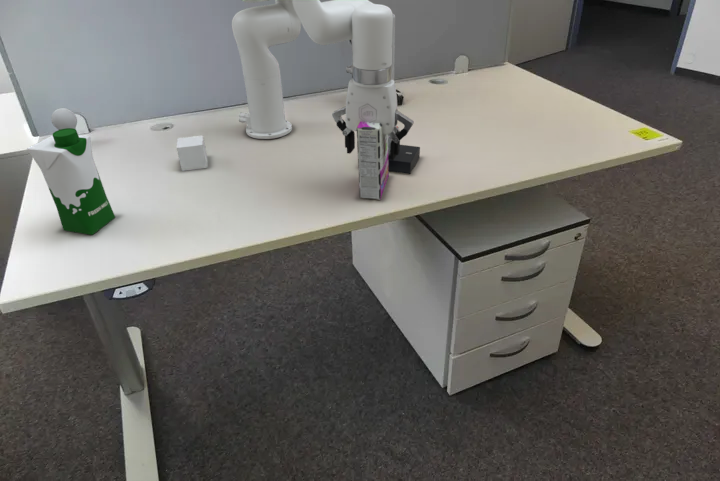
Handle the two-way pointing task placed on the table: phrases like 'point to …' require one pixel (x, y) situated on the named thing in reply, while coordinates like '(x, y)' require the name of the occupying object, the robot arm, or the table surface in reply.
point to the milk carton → (73, 181)
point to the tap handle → (389, 143)
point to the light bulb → (64, 119)
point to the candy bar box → (372, 160)
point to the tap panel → (404, 159)
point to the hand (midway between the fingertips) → (372, 154)
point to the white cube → (192, 153)
